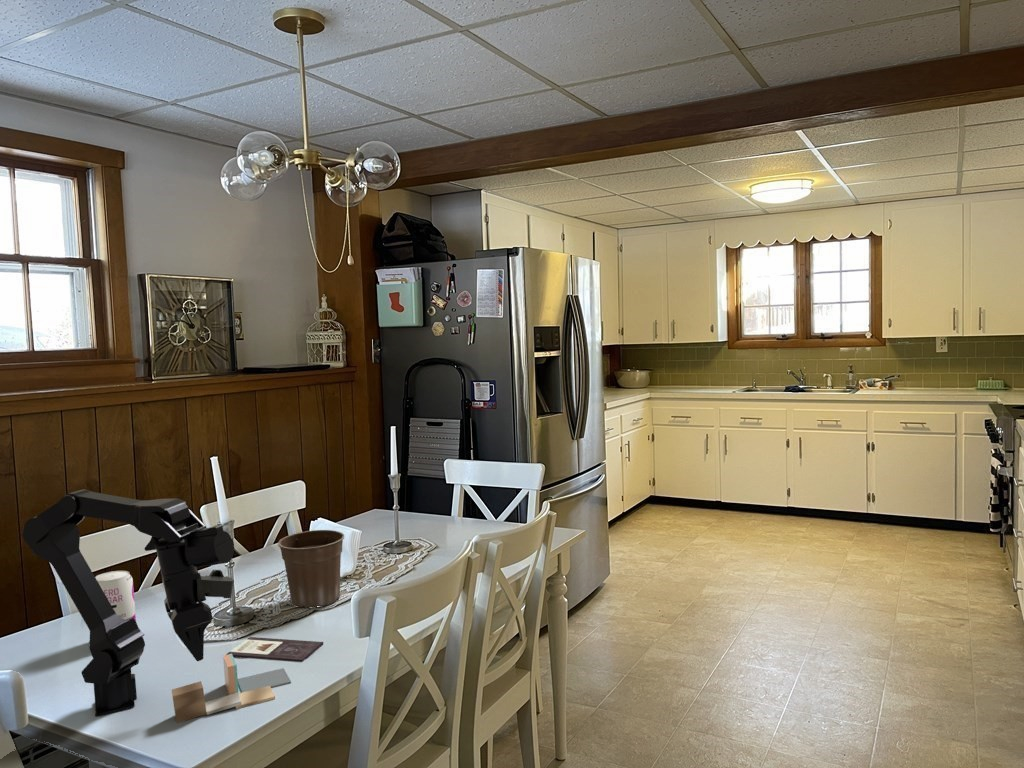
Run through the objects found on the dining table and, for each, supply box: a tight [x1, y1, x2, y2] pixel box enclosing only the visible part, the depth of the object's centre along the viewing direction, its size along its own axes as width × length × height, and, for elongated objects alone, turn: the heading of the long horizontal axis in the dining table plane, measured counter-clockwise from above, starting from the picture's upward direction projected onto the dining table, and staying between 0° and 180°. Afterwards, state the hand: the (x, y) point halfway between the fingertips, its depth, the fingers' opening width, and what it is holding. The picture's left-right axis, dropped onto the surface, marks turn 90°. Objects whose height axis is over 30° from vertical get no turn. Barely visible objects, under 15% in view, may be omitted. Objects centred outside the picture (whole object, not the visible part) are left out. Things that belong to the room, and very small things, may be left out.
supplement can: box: [95, 570, 137, 622], centre depth 175 cm, size 8×8×15 cm
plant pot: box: [277, 529, 345, 608], centre depth 196 cm, size 16×16×16 cm
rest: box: [234, 686, 276, 710], centre depth 145 cm, size 7×5×1 cm
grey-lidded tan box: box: [171, 680, 242, 723], centre depth 140 cm, size 11×4×5 cm, turn 118°
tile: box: [222, 654, 240, 695], centre depth 148 cm, size 2×6×6 cm, turn 28°
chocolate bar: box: [225, 636, 324, 663], centre depth 166 cm, size 9×1×18 cm
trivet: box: [238, 667, 292, 693], centre depth 151 cm, size 9×7×1 cm
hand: (197, 653), depth 139 cm, fingers open, 9 cm apart
